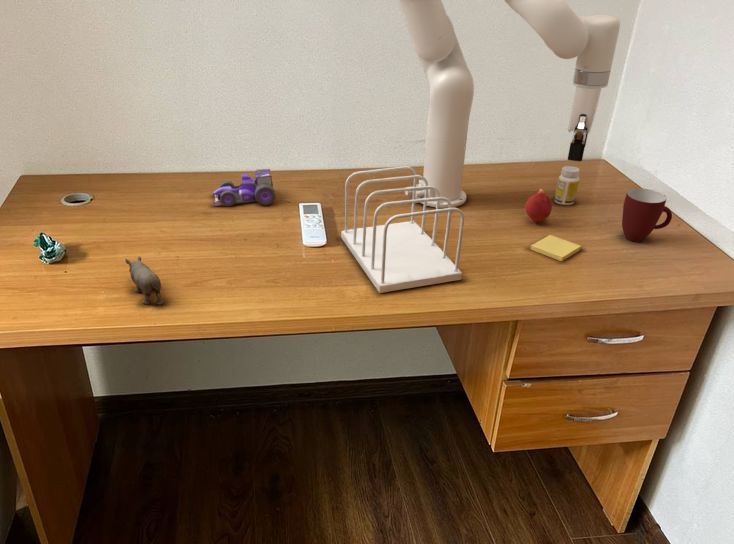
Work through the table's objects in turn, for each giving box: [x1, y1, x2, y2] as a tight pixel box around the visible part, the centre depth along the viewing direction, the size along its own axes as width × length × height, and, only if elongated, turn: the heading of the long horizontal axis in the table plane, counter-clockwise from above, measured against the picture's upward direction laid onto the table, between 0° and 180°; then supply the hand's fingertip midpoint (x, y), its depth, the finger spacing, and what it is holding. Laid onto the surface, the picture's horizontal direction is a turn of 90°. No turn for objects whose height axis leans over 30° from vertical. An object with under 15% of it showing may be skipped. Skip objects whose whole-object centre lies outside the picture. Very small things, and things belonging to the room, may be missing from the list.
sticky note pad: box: [530, 234, 582, 262], centre depth 143 cm, size 8×8×1 cm
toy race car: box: [212, 168, 276, 207], centre depth 162 cm, size 10×15×6 cm, turn 100°
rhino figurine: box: [125, 256, 165, 306], centre depth 126 cm, size 4×14×6 cm, turn 33°
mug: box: [621, 188, 673, 243], centre depth 145 cm, size 11×8×10 cm
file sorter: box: [340, 165, 465, 294], centre depth 135 cm, size 25×17×16 cm
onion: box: [525, 188, 553, 224], centre depth 152 cm, size 6×6×8 cm
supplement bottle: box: [554, 165, 580, 206], centre depth 162 cm, size 5×5×8 cm
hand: (576, 153), depth 157 cm, fingers open, 9 cm apart
